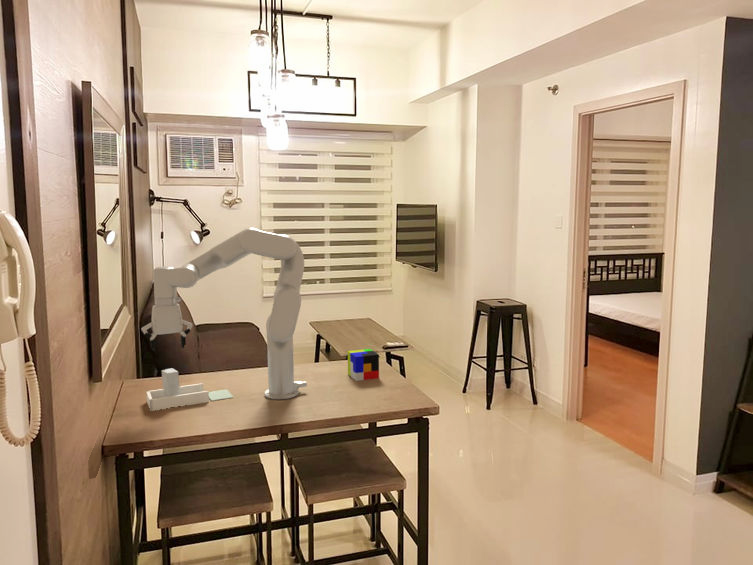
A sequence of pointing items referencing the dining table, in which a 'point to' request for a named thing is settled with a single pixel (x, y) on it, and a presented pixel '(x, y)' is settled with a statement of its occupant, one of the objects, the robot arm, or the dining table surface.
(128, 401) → the dining table surface
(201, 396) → the lane
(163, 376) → the skincare box
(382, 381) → the dining table surface
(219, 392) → the mat
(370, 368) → the puzzle toy
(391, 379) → the dining table surface
